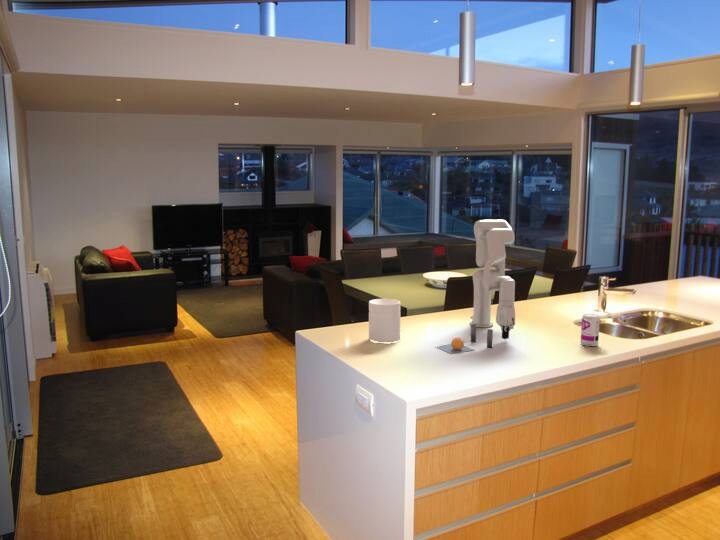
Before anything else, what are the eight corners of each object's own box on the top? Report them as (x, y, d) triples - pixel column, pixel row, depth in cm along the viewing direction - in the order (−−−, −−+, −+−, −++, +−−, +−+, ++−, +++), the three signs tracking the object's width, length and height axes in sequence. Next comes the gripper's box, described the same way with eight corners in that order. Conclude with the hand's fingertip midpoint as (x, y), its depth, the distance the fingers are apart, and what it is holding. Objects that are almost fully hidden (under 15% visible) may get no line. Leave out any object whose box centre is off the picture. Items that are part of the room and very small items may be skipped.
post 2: (485, 347, 308) (486, 329, 306) (489, 346, 309) (490, 329, 307) (488, 348, 305) (489, 330, 304) (493, 348, 306) (493, 330, 305)
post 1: (469, 341, 319) (470, 324, 318) (473, 340, 320) (474, 323, 319) (472, 342, 317) (473, 325, 316) (476, 341, 318) (477, 324, 317)
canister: (373, 345, 312) (374, 305, 309) (365, 337, 327) (365, 299, 324) (404, 343, 316) (404, 303, 313) (394, 335, 331) (394, 298, 328)
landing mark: (434, 346, 309) (434, 346, 309) (458, 343, 315) (458, 343, 315) (450, 353, 297) (450, 353, 297) (474, 350, 303) (474, 349, 303)
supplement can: (587, 347, 308) (588, 317, 305) (577, 343, 315) (578, 314, 313) (601, 346, 310) (603, 316, 308) (591, 342, 318) (592, 313, 315)
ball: (447, 339, 303) (457, 335, 306) (449, 350, 304) (459, 346, 307) (455, 340, 298) (465, 336, 301) (457, 352, 299) (467, 348, 302)
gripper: (491, 301, 322) (490, 336, 324) (510, 306, 308) (509, 342, 311) (502, 299, 325) (501, 334, 327) (522, 305, 312) (520, 341, 314)
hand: (505, 338), depth 319 cm, fingers closed
